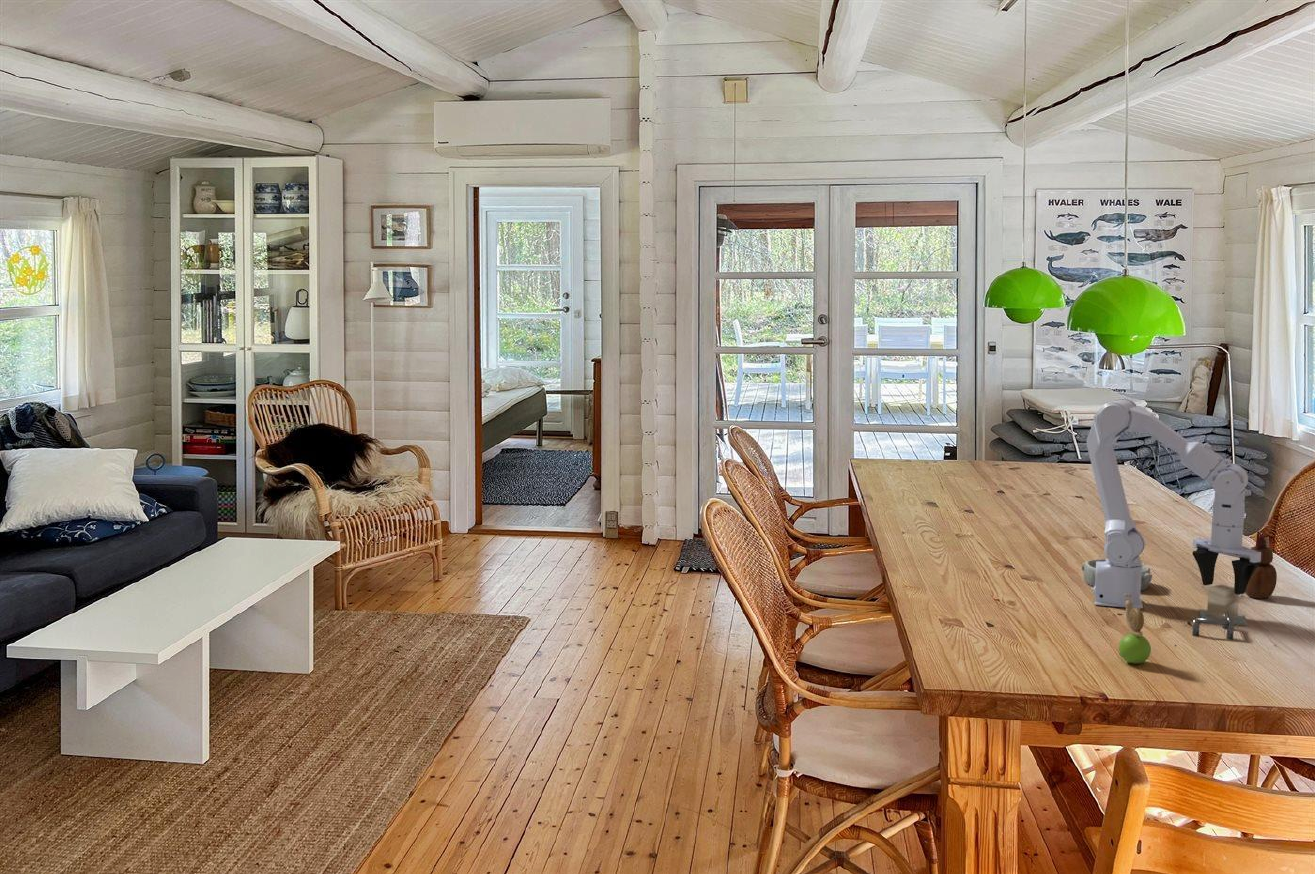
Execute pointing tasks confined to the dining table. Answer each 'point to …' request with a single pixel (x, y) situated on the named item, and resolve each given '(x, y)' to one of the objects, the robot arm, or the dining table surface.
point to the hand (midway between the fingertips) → (1223, 588)
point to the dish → (1090, 565)
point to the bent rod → (1225, 622)
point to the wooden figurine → (1262, 572)
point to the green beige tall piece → (1134, 637)
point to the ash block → (1222, 601)
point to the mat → (1237, 621)
